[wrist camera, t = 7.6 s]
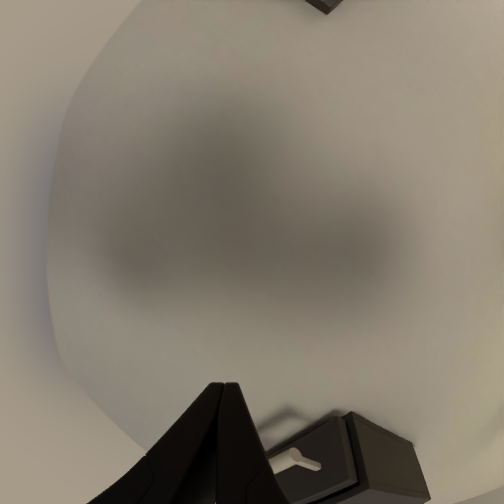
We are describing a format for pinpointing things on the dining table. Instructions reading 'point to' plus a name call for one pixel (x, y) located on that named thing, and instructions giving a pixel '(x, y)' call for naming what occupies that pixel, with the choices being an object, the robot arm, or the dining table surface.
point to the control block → (325, 4)
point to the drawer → (317, 464)
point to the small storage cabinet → (382, 467)
